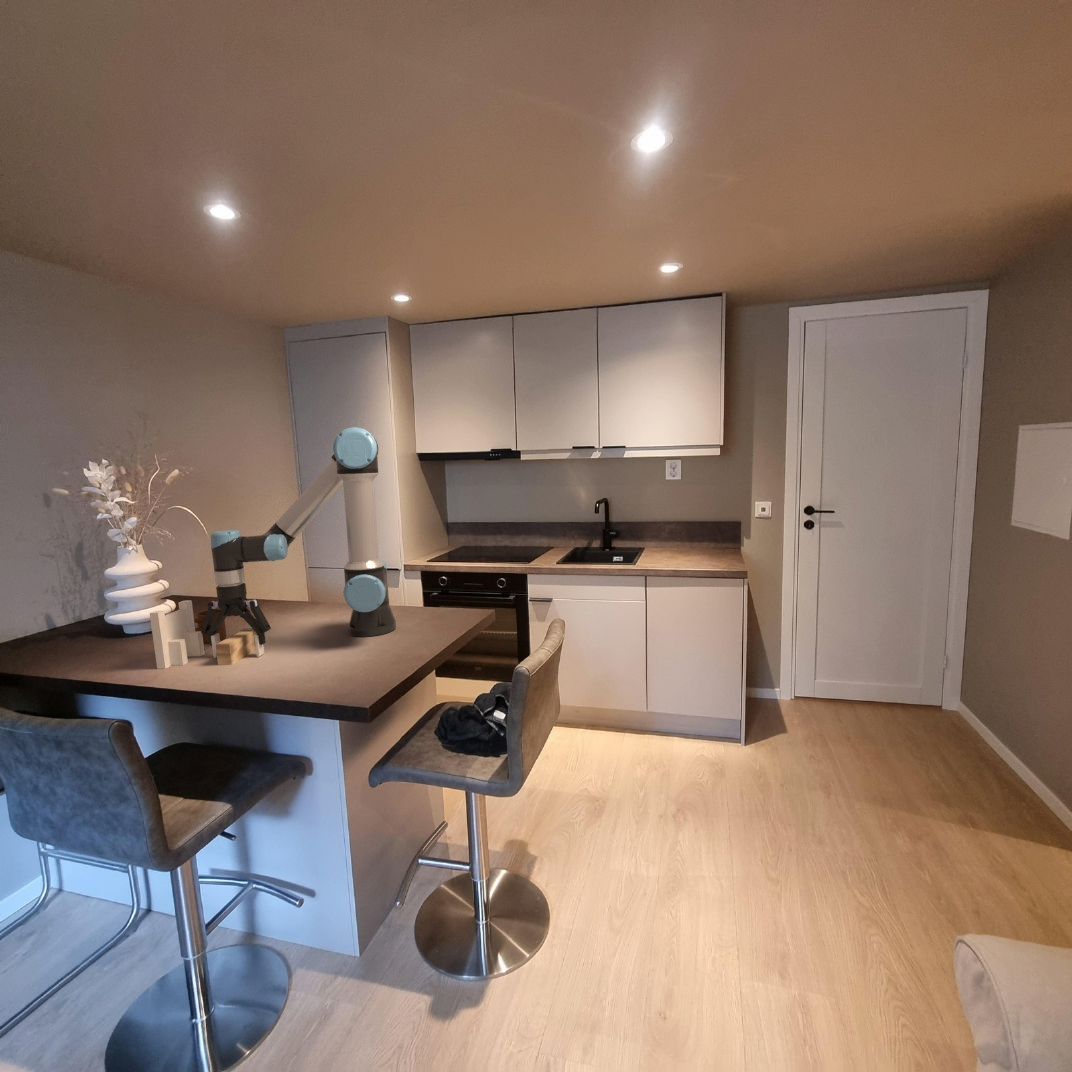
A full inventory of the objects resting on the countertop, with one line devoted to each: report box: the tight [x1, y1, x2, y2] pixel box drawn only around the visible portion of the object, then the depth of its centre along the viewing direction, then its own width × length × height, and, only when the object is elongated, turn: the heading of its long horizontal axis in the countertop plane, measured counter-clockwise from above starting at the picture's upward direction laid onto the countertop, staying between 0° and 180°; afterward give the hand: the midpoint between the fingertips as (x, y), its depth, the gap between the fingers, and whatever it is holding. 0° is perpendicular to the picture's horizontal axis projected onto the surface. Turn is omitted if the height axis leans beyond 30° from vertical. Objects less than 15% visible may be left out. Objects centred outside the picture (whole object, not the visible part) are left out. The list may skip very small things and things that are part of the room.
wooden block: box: [216, 627, 257, 666], centre depth 165 cm, size 14×4×6 cm, turn 177°
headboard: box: [149, 599, 206, 670], centre depth 164 cm, size 6×14×16 cm, turn 177°
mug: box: [194, 608, 227, 645], centre depth 180 cm, size 12×8×9 cm, turn 159°
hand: (239, 655), depth 166 cm, fingers open, 12 cm apart
